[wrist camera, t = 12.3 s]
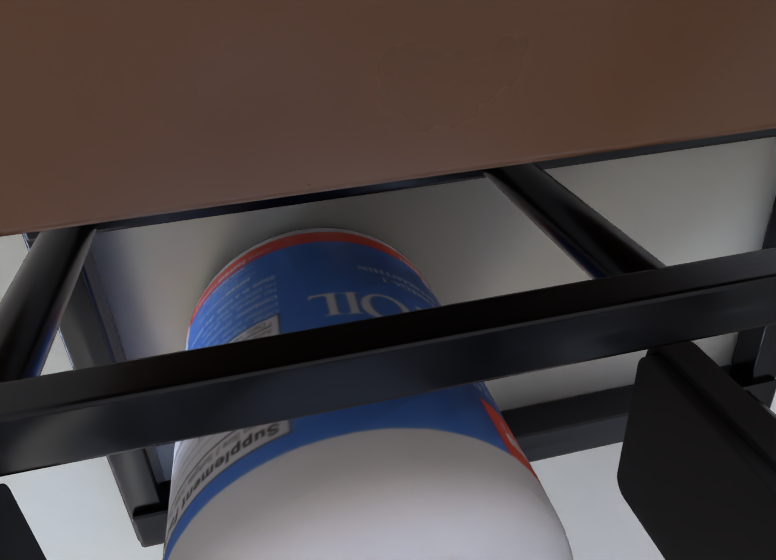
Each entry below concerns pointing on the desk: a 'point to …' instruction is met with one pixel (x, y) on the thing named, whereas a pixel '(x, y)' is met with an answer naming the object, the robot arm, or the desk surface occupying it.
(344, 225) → the desk surface
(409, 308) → the pill bottle
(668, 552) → the robot arm
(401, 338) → the wire rack
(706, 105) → the chest lid
